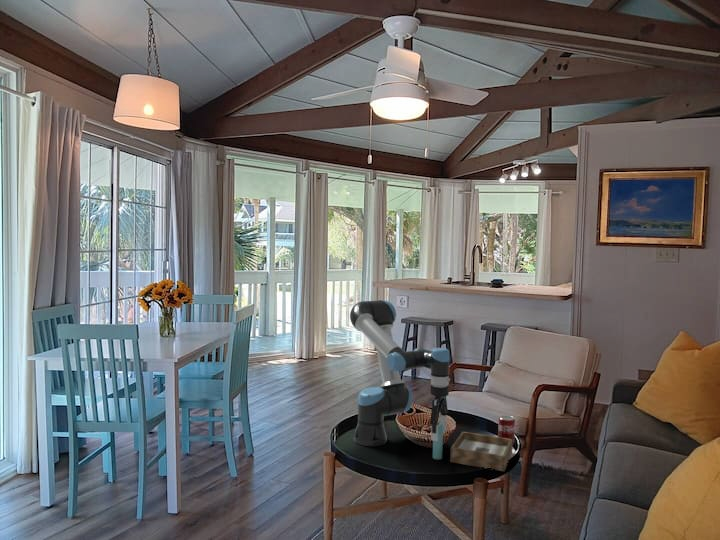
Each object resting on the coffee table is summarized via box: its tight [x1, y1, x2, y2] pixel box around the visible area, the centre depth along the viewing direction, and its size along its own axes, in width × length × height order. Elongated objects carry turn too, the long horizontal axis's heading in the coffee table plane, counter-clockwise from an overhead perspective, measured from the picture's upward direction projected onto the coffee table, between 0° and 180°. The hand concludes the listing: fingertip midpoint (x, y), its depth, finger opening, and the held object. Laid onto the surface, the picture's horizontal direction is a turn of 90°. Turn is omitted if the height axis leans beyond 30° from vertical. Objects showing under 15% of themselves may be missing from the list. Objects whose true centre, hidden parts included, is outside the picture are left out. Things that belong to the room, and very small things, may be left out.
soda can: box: [497, 415, 516, 446], centre depth 254 cm, size 7×7×12 cm
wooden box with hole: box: [449, 431, 513, 472], centre depth 237 cm, size 22×22×6 cm
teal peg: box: [432, 423, 444, 461], centre depth 235 cm, size 4×4×14 cm
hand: (438, 435), depth 235 cm, fingers open, 13 cm apart
